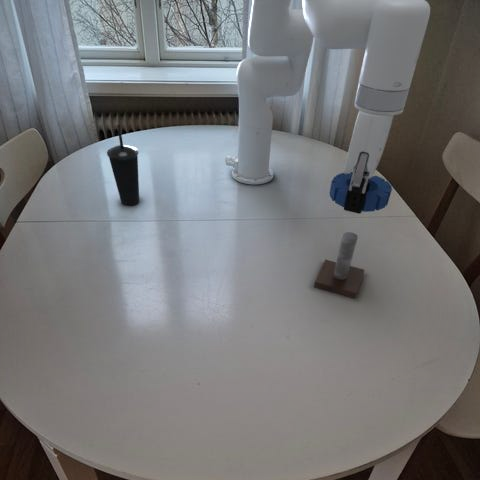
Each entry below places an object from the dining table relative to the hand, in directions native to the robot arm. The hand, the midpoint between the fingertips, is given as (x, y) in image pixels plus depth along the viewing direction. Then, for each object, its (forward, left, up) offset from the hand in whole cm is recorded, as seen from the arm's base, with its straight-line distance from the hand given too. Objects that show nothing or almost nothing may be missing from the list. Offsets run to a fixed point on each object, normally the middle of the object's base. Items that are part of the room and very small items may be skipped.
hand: (354, 205), depth 78 cm
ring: (0, +4, 0) cm, 4 cm away
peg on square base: (0, +4, -20) cm, 20 cm away
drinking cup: (-60, +14, -20) cm, 65 cm away
